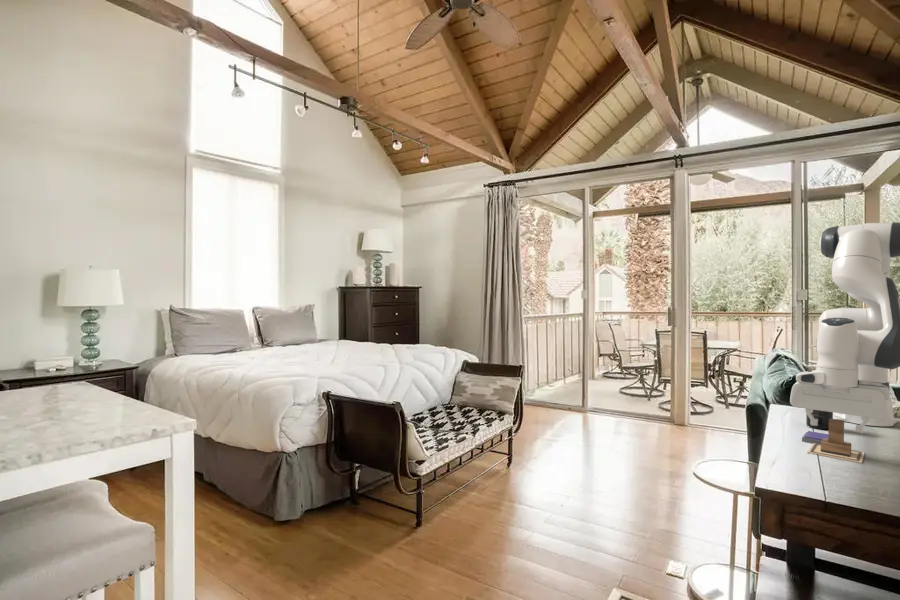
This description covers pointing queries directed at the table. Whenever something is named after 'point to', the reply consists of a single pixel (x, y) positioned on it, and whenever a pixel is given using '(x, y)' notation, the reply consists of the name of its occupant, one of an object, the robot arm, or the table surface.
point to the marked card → (854, 457)
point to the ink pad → (814, 437)
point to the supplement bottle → (820, 419)
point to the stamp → (836, 439)
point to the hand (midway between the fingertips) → (836, 428)
